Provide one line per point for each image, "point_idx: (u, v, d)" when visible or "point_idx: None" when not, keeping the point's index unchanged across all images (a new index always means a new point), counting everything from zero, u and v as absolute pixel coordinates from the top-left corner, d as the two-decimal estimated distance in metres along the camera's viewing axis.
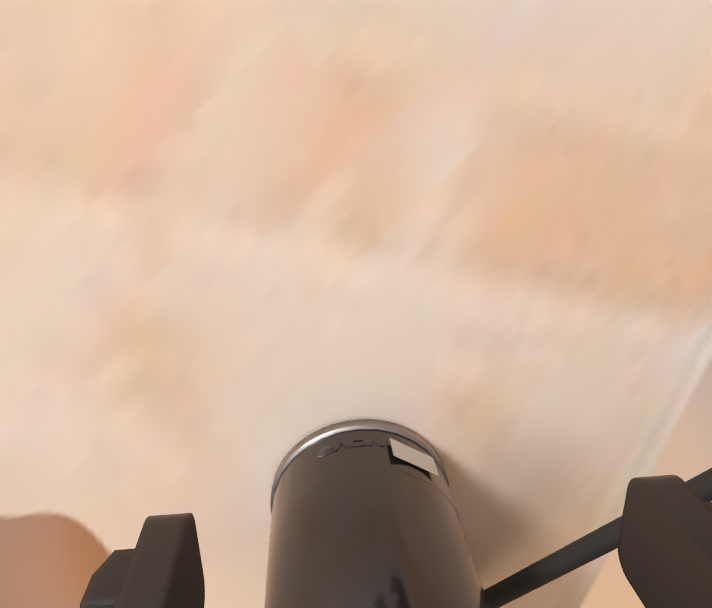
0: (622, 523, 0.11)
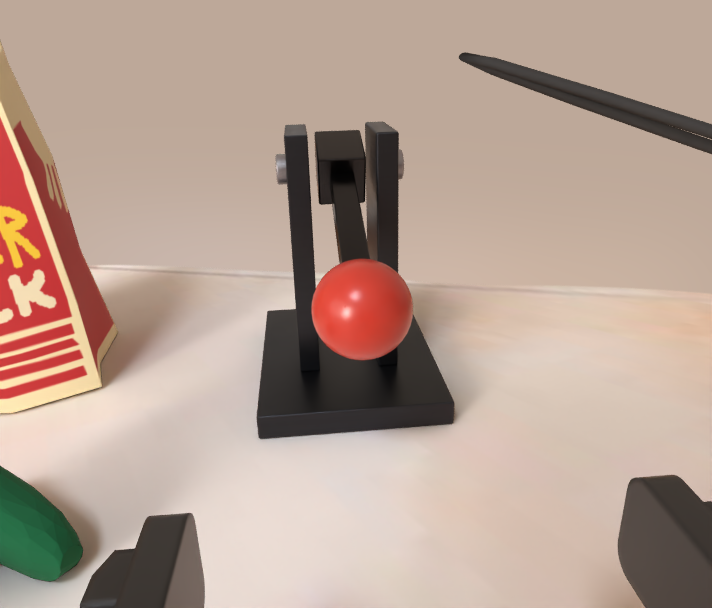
0: (622, 523, 0.11)
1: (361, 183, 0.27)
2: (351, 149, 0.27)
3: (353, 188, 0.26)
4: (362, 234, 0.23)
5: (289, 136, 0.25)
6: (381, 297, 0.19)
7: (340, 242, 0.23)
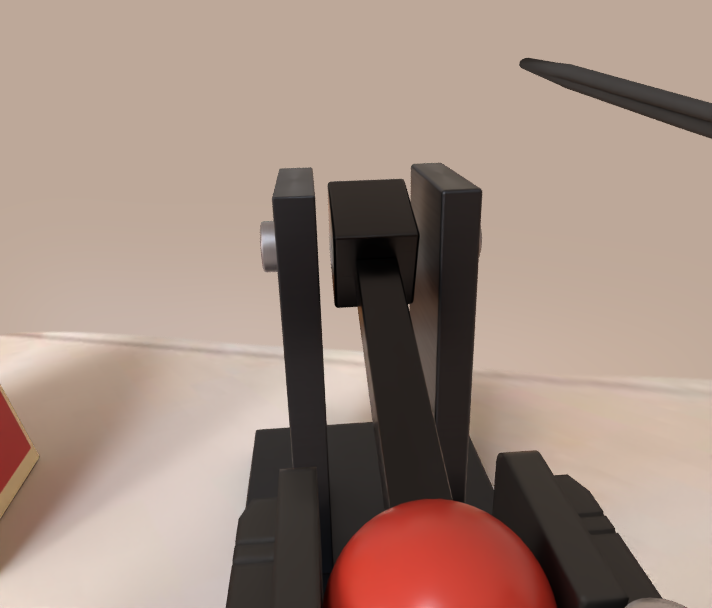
0: (494, 496, 0.12)
1: (409, 274, 0.16)
2: (392, 216, 0.15)
3: (398, 292, 0.14)
4: (424, 404, 0.12)
5: (282, 198, 0.14)
6: None
7: (381, 426, 0.11)
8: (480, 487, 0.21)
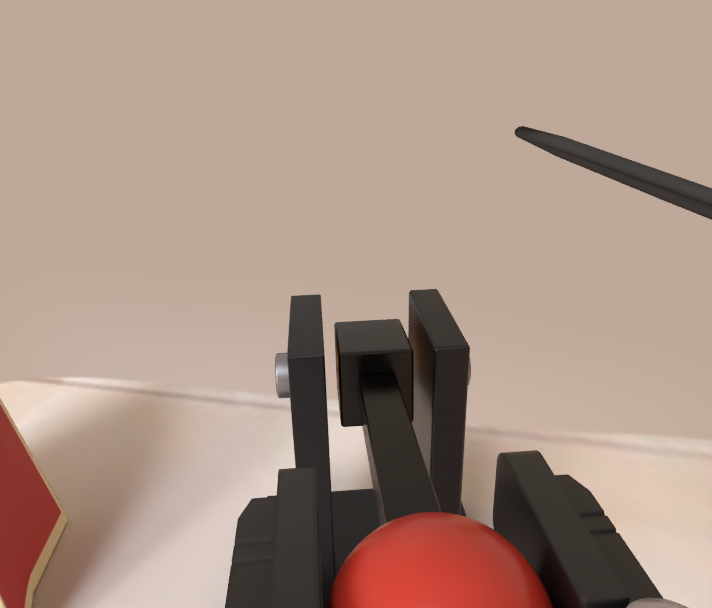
0: (495, 497, 0.12)
1: (407, 390, 0.17)
2: (389, 340, 0.18)
3: (396, 394, 0.16)
4: (420, 466, 0.13)
5: (295, 357, 0.16)
6: None
7: (380, 482, 0.12)
8: None
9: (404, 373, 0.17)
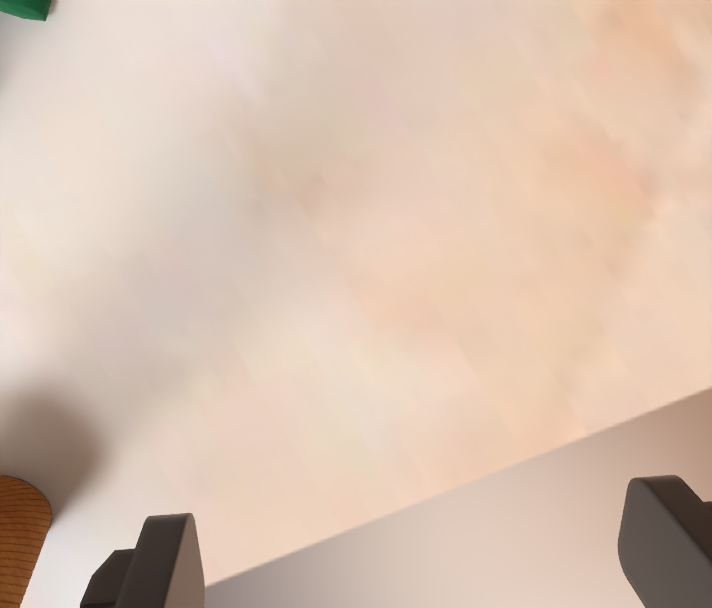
0: (622, 523, 0.11)
1: None
2: None
3: None
4: None
5: None
6: None
7: None
8: None
9: None
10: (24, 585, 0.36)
